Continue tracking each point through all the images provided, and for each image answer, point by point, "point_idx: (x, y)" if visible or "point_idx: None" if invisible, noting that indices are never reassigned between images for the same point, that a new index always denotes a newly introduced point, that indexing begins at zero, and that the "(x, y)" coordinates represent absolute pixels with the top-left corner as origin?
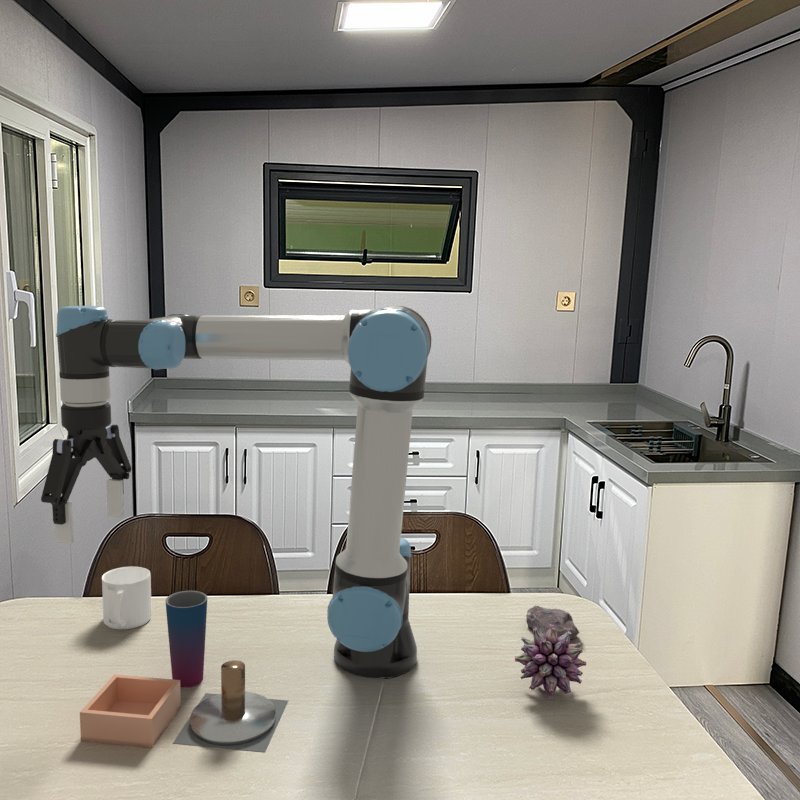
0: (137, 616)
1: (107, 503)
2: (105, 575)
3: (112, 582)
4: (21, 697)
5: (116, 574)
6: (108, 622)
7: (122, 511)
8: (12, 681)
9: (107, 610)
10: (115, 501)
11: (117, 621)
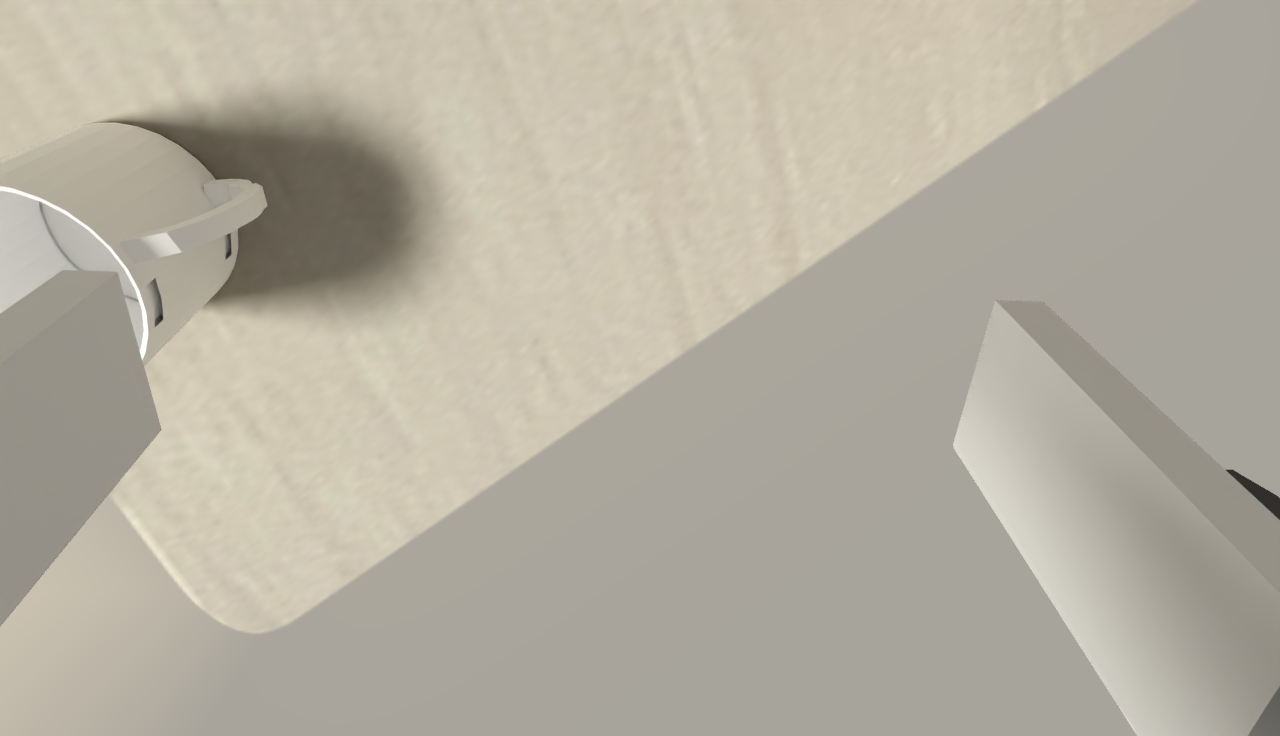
0: (151, 152)
1: (82, 523)
2: None
3: None
4: (776, 240)
5: None
6: (231, 258)
7: (51, 302)
8: (693, 327)
9: (208, 283)
10: (22, 447)
11: (261, 192)
